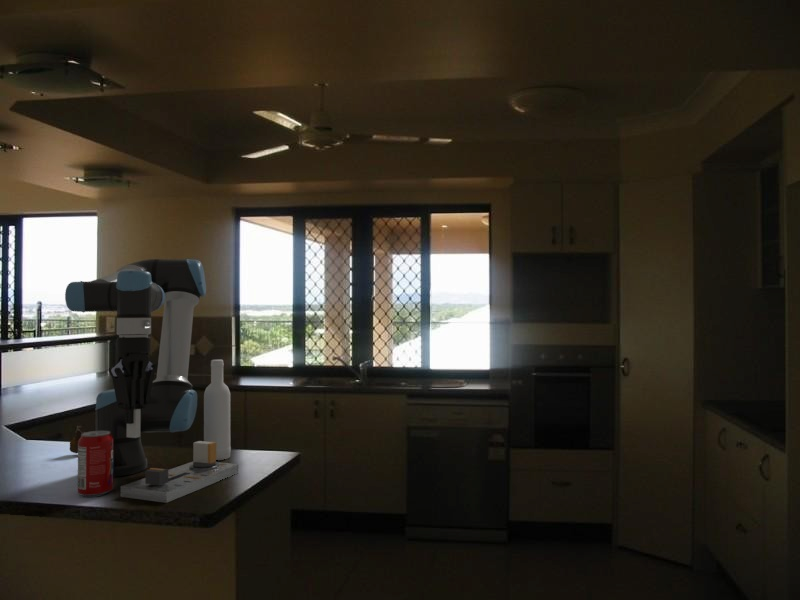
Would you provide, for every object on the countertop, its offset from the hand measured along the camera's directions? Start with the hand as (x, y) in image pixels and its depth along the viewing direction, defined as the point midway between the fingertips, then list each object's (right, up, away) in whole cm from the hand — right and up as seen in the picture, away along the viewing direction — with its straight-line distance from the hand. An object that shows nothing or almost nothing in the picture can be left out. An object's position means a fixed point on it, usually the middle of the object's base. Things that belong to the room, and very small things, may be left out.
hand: (133, 436), depth 144 cm
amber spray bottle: (-39, -17, +50) cm, 66 cm away
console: (+6, -16, +16) cm, 23 cm away
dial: (+9, -13, +24) cm, 29 cm away
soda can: (-13, -16, +8) cm, 22 cm away
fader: (+3, -16, +7) cm, 17 cm away
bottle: (+6, -17, +45) cm, 48 cm away
